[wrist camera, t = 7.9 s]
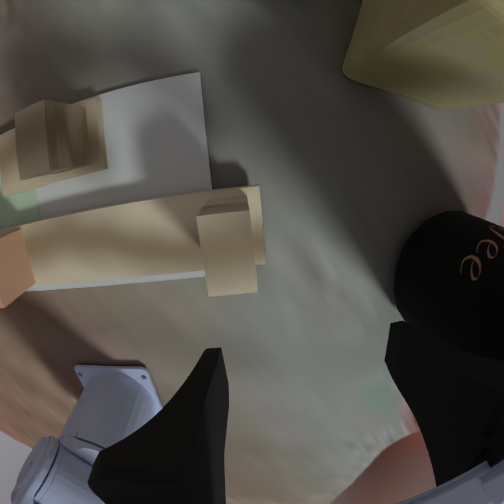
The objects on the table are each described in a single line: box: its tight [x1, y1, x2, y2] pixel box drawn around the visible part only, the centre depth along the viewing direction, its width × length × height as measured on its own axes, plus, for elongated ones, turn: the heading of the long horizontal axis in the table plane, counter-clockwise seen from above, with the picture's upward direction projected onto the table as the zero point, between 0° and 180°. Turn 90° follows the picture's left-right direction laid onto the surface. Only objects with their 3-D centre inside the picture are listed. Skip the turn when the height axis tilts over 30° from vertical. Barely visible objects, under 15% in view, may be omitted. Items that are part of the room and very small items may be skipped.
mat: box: [0, 72, 213, 291], centre depth 19 cm, size 14×32×1 cm, turn 96°
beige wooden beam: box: [0, 184, 266, 297], centre depth 17 cm, size 5×24×6 cm, turn 95°
